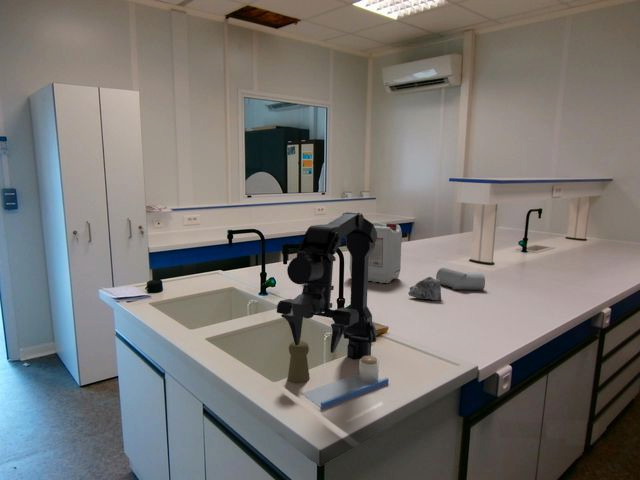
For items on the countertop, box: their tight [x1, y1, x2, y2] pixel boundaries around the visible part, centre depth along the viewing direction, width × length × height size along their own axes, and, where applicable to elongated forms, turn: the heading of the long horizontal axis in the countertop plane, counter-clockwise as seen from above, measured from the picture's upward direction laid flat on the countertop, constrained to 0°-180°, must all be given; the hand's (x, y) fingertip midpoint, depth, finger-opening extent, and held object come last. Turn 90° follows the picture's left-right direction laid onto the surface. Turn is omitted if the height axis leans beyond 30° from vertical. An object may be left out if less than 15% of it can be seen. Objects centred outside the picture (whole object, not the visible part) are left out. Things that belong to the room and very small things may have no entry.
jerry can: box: [349, 221, 403, 284], centre depth 227 cm, size 24×19×30 cm
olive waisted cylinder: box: [287, 340, 310, 384], centre depth 113 cm, size 6×6×11 cm
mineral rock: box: [408, 276, 442, 301], centre depth 192 cm, size 13×11×10 cm
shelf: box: [301, 372, 390, 410], centre depth 108 cm, size 21×9×2 cm, turn 127°
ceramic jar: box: [358, 355, 380, 384], centre depth 113 cm, size 5×5×6 cm
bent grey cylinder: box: [435, 267, 486, 291], centre depth 213 cm, size 18×11×20 cm
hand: (314, 348), depth 100 cm, fingers open, 9 cm apart
